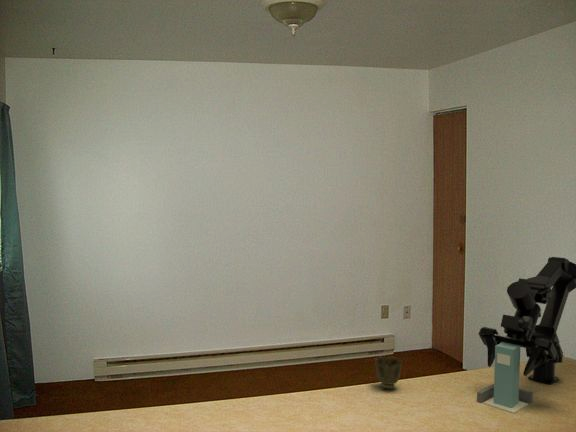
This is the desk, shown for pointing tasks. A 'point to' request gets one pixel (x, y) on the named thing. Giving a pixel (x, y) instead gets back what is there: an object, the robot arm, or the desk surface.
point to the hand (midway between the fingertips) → (506, 370)
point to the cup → (388, 371)
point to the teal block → (506, 374)
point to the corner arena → (489, 393)
